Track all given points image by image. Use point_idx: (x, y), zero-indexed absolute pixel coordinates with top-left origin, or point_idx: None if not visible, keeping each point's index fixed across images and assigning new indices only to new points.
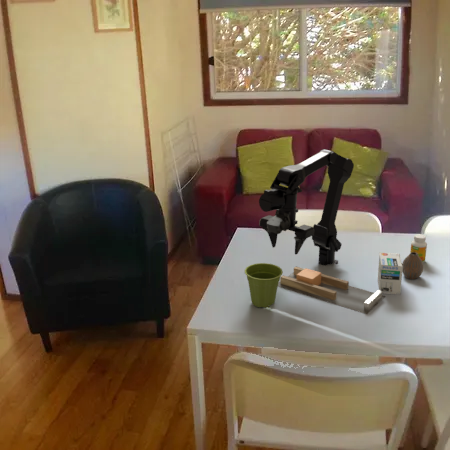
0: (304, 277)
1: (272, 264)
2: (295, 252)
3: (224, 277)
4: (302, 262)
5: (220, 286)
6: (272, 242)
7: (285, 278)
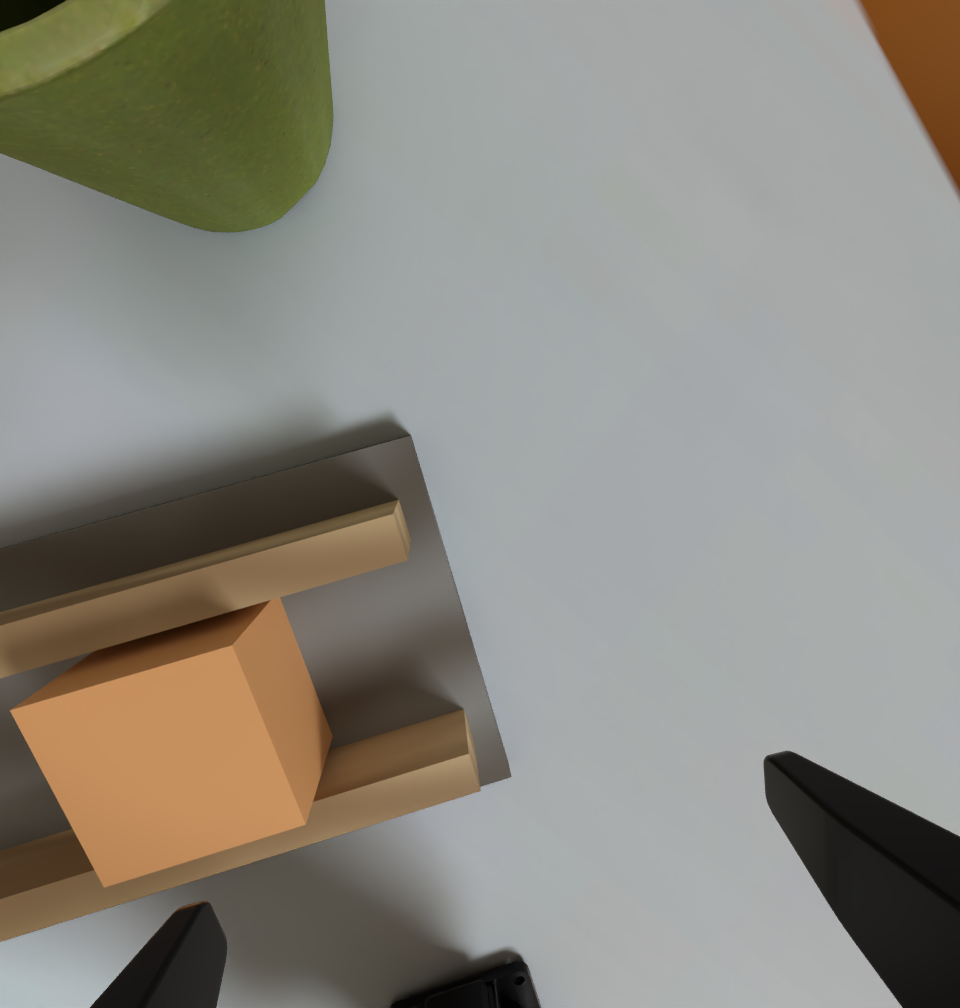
0: (126, 673)
1: (1, 66)
2: (152, 953)
3: (872, 189)
4: (607, 902)
5: (767, 12)
6: (888, 840)
7: (327, 531)
